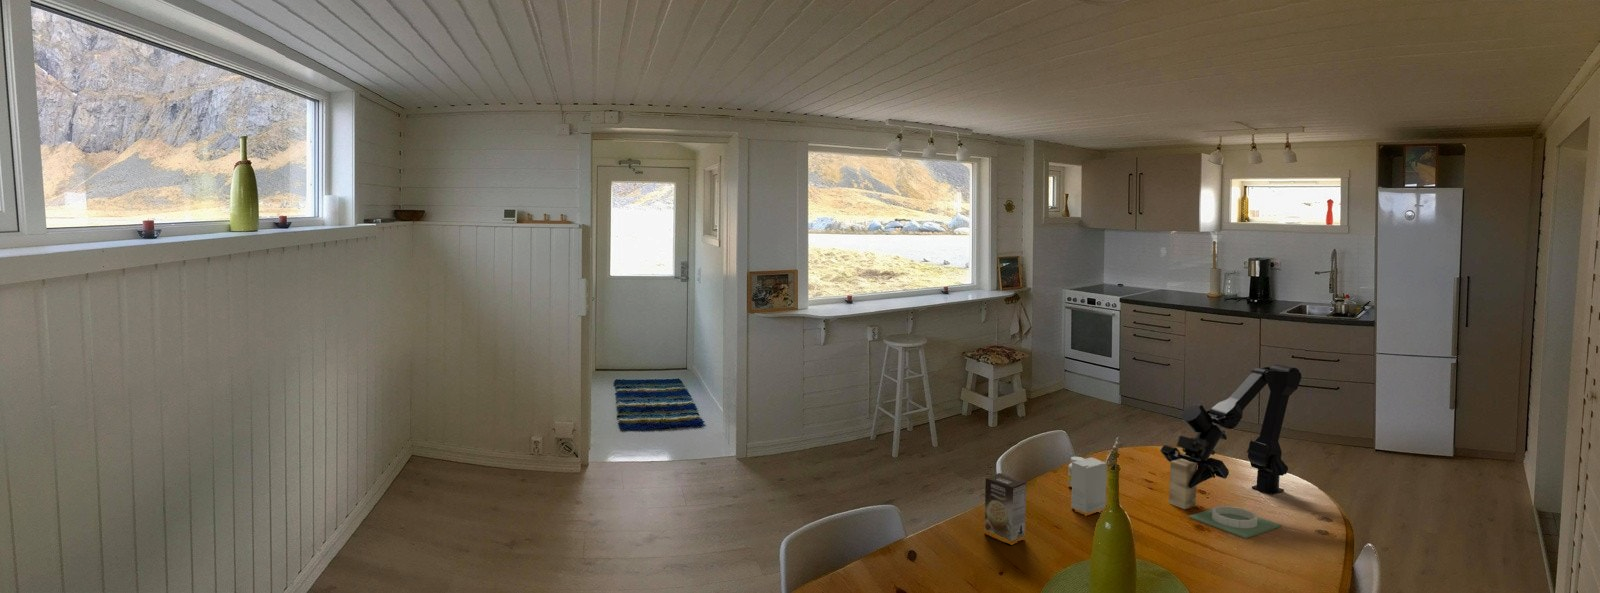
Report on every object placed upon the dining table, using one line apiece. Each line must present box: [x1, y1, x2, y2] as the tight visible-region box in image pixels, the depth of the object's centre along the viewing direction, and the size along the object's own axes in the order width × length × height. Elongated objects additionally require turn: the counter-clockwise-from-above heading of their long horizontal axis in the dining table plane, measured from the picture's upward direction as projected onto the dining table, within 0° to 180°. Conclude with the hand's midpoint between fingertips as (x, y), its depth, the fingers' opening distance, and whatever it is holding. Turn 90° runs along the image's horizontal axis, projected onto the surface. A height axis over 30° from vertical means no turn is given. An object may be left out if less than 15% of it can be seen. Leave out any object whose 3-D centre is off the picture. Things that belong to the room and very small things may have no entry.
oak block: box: [1168, 459, 1198, 510], centre depth 215 cm, size 5×5×13 cm
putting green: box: [1188, 505, 1282, 539], centre depth 202 cm, size 16×16×2 cm
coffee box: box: [984, 472, 1027, 541], centre depth 193 cm, size 9×6×16 cm
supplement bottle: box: [1067, 456, 1085, 486], centre depth 230 cm, size 5×5×10 cm
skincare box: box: [1070, 457, 1108, 513], centre depth 211 cm, size 8×6×15 cm
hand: (1180, 484), depth 214 cm, fingers open, 6 cm apart
